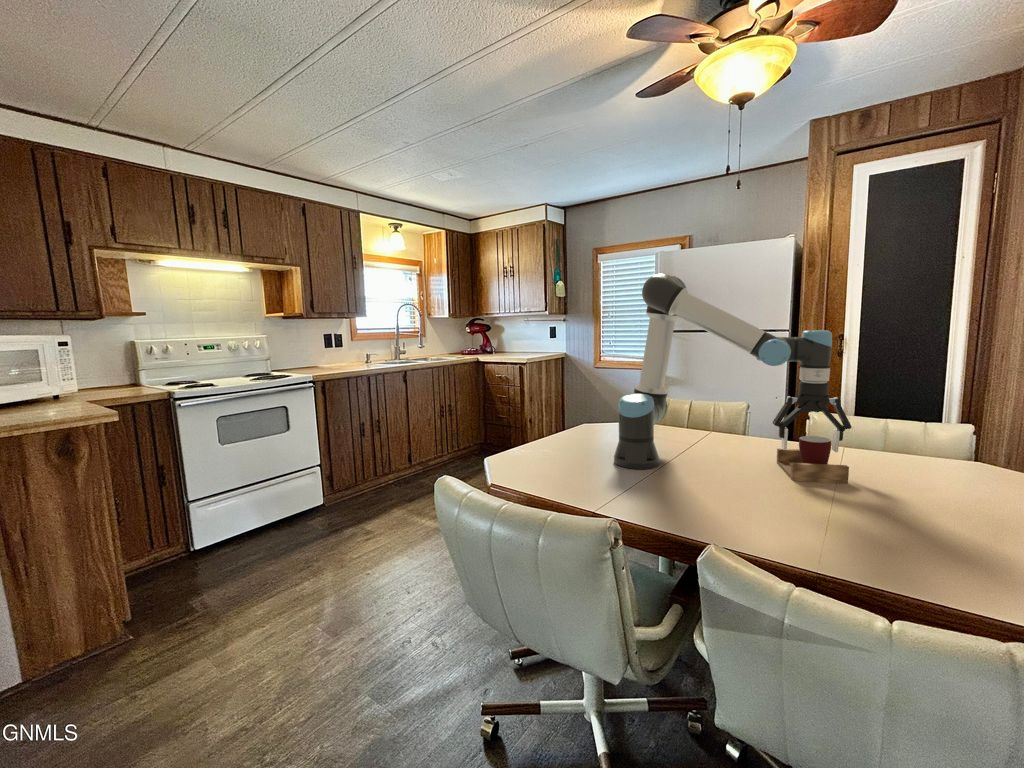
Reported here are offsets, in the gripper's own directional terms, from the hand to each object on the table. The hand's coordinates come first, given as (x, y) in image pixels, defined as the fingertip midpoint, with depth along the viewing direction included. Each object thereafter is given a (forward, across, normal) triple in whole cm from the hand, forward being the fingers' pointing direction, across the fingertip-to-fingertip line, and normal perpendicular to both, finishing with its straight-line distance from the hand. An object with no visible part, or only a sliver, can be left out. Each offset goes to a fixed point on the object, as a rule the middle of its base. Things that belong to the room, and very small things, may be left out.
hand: (809, 449), depth 135 cm
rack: (+7, 0, 0) cm, 7 cm away
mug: (+6, +1, 0) cm, 7 cm away
